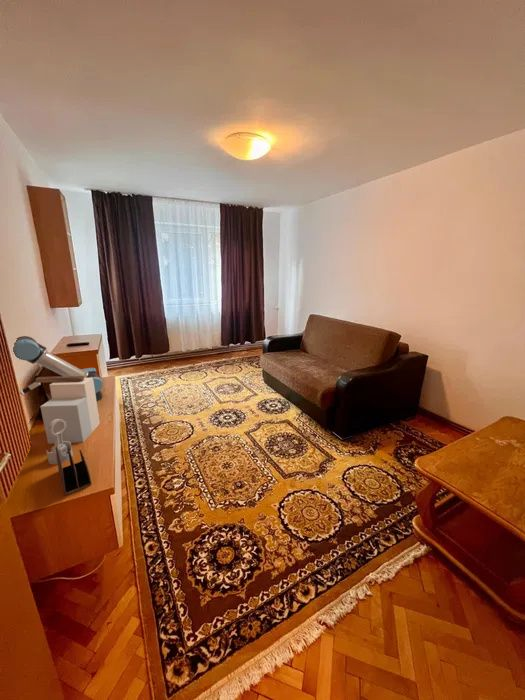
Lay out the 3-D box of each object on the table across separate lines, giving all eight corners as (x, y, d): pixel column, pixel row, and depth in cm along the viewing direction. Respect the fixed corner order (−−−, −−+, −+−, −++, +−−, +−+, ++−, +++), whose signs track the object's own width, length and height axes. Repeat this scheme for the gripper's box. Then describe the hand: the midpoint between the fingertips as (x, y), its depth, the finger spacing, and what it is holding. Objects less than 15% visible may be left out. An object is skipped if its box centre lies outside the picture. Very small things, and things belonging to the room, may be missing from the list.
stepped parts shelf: (68, 424, 172) (60, 378, 164) (99, 423, 174) (92, 377, 166) (48, 443, 153) (37, 392, 145) (83, 442, 155) (74, 391, 147)
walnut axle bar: (39, 380, 160) (38, 376, 159) (84, 379, 162) (83, 376, 162) (36, 382, 157) (35, 378, 156) (81, 381, 160) (81, 377, 159)
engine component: (43, 462, 137) (60, 465, 136) (35, 425, 132) (53, 427, 130) (62, 449, 148) (79, 452, 146) (55, 414, 142) (72, 416, 141)
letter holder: (64, 496, 117) (58, 467, 114) (58, 471, 132) (53, 444, 128) (92, 485, 124) (87, 457, 120) (83, 462, 138) (79, 437, 135)
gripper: (20, 401, 173) (49, 384, 172) (-14, 421, 149) (19, 402, 148) (11, 391, 170) (40, 374, 169) (-25, 410, 147) (9, 390, 146)
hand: (31, 387), depth 159 cm, fingers open, 13 cm apart
